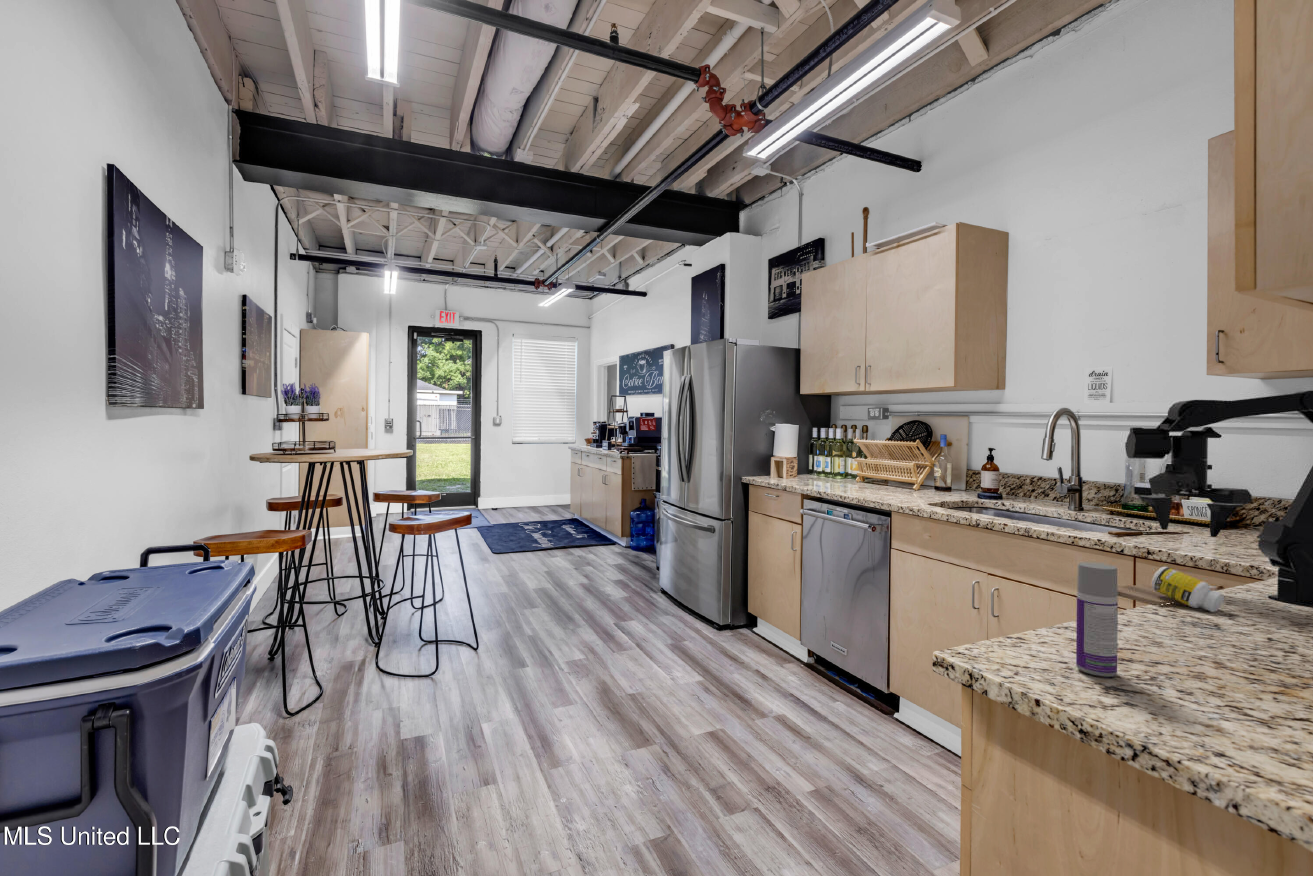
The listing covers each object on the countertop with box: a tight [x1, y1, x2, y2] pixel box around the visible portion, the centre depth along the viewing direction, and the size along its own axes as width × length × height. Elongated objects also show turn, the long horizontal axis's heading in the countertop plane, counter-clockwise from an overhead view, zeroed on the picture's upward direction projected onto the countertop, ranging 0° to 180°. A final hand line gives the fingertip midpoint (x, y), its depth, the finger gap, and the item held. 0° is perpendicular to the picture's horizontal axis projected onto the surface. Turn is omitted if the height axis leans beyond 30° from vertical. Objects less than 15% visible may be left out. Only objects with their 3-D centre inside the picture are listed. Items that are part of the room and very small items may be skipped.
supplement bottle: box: [1150, 566, 1225, 613], centre depth 115 cm, size 5×5×10 cm
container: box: [1075, 561, 1119, 678], centre depth 83 cm, size 5×5×15 cm
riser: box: [1117, 584, 1185, 608], centre depth 121 cm, size 11×11×2 cm
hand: (1188, 533), depth 123 cm, fingers open, 9 cm apart
